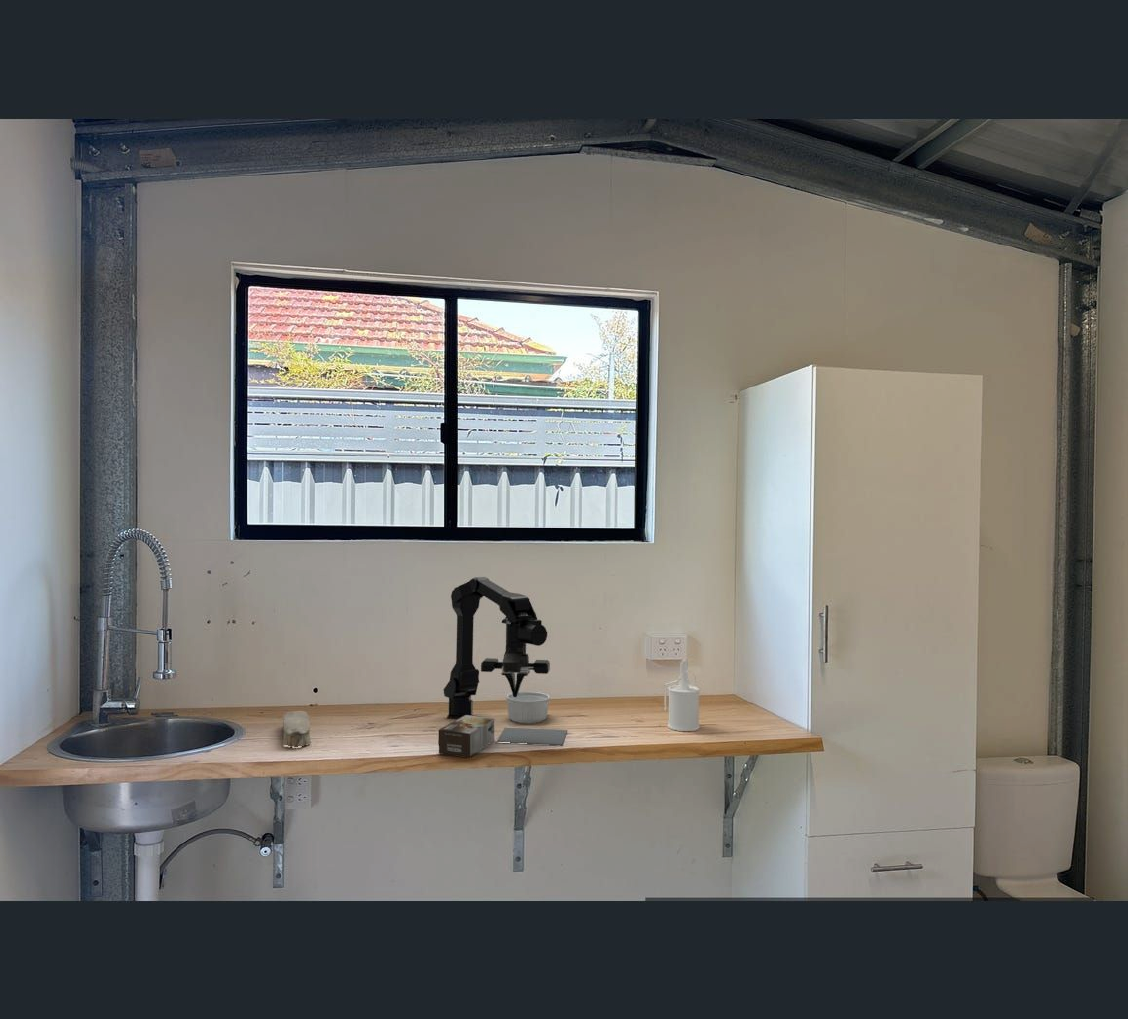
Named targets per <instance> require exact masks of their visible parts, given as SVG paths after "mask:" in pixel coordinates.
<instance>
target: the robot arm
mask: <svg viewBox="0 0 1128 1019" xmlns="http://www.w3.org/2000/svg"><path fill="white" fill-rule="evenodd" d="M483 597H485V598H487V599H488V600H490V601H491V602H493V603H495V605H498V607H499V611H500V612H501V613H502V614H503V615H504V616H505V617H504V618H503V619H502V620H501V623H502V624H505V652H504V654H503V658H502V661H499V658H489V657H488V658H485V659H484V660H483V661H482V662H481V663H480V670H479V669H478V668H476V666H475V665H474V660H473V659H474V657H473V656H474V655H473V654H474V616H475V615H476V613H477V611H478V610H479V607H480V601H481V599H483ZM450 599H451V607H452V609H453V611H454V613H455V614H456V649H455V650H456V653H455V655H456V656H455V657H456V658H455V660H456V661H455V664H454V665H453V667H452V669H451V671H450V677H449V681H448V682H447V684H446V685H445V687H444V688H443V694H444V697H446V698H448V715H447V716H446V718H447V719H459V718H461V717H463V716H465V715H469V716H472V715H473V713H474V712H473V711H474V708H473V704H474V701H473V699H472V696H477V690H478V686H479V683H480V678H479V676H480V672H482V673H483V672H484V673H493V671H494V670H495V669H496V670H497V669H498V670H499V669H500V670H501V676H505V678H506V679H507V682H508V684H509V687H510V690H511V693H513V697H517V695H518V692H520V688H521V685H522V682H523V680H524V679H525V677H527V676H528V675H529V674H530V672H531V671H533V672H534V673H536V674H538V675H539V674H543V675H545V674H547V675H548V674H549V672H550V670H551V663H550V661H549V660H548V659H546V660H545V659H536V660H535V661H534V662H530V661H529V659H530V658H529V654H528V653H527V644H528V645H532V646H537V647H539V646H541V645H543V644H545V642H546V641H547V637H548V631H547V629H546V627H545V626H544V625H543V624H542V622H543V621H542V620H541V619H538V616H537V613H536V611H535V609H534V608H533V606H532V603H531V600H530V598H529V596H527V595H525V594H521V593H515V592H510V591H509V590H507V589H505V588H503V586H500V585H498V584H496V583H495V582H493V581H491V579H489V578H488V577H486V576H479V577H473V578H470V580H468V581H466V582H464V583H463V584H461V585H458V586H456V587H455V588H454V589H453V590H452V591H451V595H450Z"/></svg>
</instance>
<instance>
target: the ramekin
mask: <svg viewBox="0 0 1128 1019" xmlns="http://www.w3.org/2000/svg"><path fill="white" fill-rule="evenodd" d="M505 697H506V699H505V700H506V707H507V714H508V718H509V719H510V721H512V722H514V721H515V722H514V723H518V722H519V723H520V724H537V723H536V722H538V723H541V722H540V721H542V722H543V720H544V721H545V720H546V719H547V716H548V713H549V712H548V711H549V704H550V702H551V698H550V695H549V694H547V693H543V692H538V691H519V692H518V695H517V697H513V693H512V692H511V693H508V694H507V695H506V696H505Z"/></svg>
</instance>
